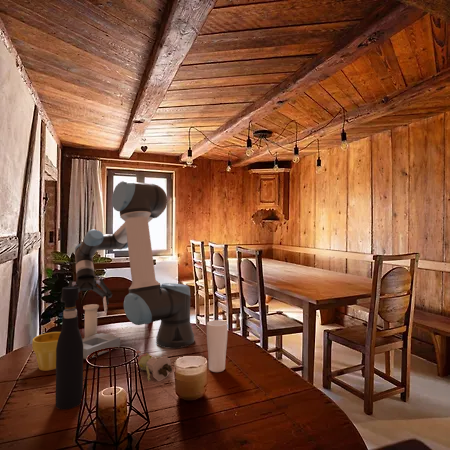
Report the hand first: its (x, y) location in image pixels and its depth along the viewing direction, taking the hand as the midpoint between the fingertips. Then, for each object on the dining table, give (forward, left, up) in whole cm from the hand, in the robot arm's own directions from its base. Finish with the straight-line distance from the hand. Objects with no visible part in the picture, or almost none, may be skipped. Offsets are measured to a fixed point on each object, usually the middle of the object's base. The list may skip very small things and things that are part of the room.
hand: (88, 313), depth 134 cm
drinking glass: (-61, -2, -10) cm, 62 cm away
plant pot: (-14, +24, -10) cm, 30 cm away
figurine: (-46, +10, -11) cm, 49 cm away
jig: (-13, +7, -10) cm, 18 cm away
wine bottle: (-39, +35, -10) cm, 54 cm away
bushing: (-3, +2, -10) cm, 11 cm away
